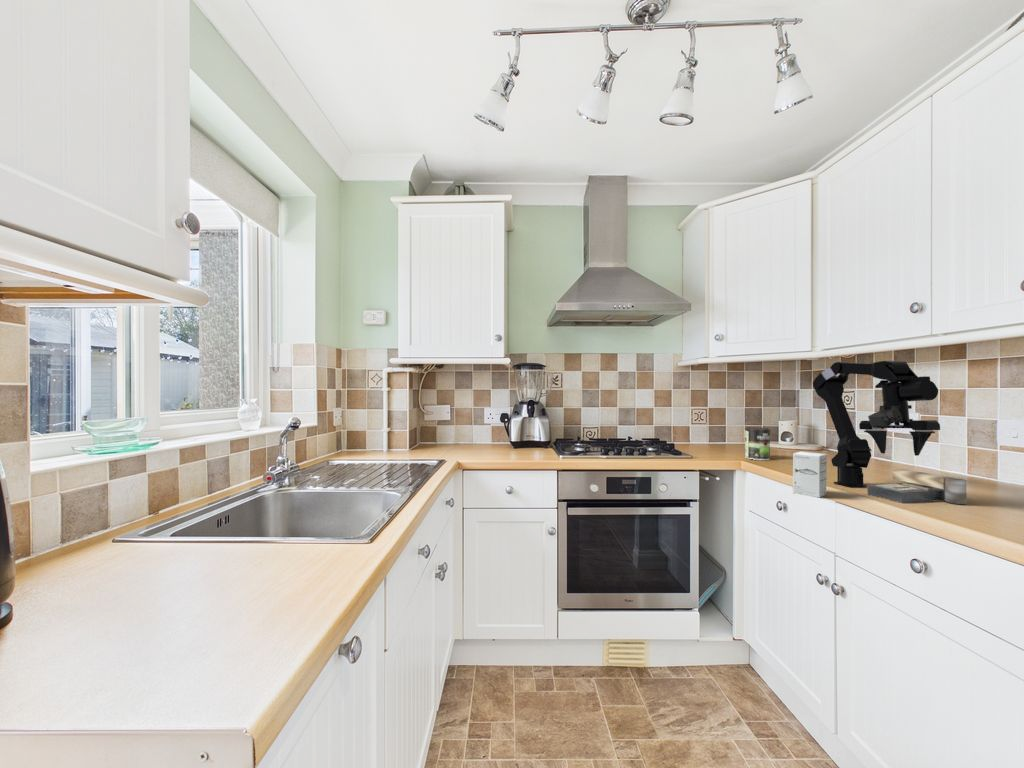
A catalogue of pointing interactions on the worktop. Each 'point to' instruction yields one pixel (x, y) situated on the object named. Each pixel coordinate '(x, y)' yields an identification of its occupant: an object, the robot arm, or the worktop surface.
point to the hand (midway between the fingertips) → (899, 454)
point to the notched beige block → (935, 483)
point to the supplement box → (809, 474)
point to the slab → (906, 492)
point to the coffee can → (757, 443)
